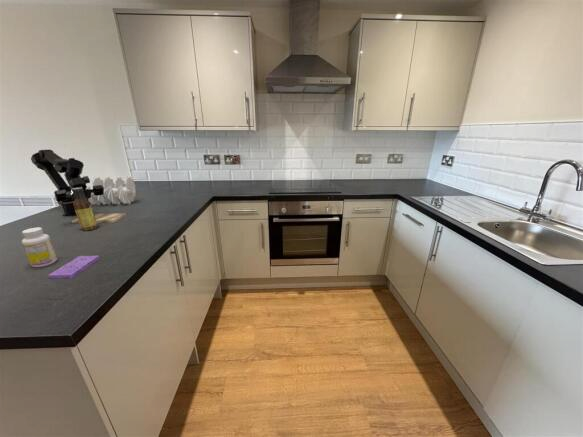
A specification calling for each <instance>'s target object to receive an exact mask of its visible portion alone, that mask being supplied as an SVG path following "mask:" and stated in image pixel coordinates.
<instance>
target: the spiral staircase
mask: <svg viewBox="0 0 583 437" xmlns="http://www.w3.org/2000/svg"><path fill="white" fill-rule="evenodd" d="M96 185H102V186H103V188H104V194H103V195H98V196H96V195H94V194H93V193H91V198H89V199H88V201H89V202H90V203H91V205H97V206H99V205H101V204H103V205H107V204H108V205H111V203H112V204H114V205H117V206H120V205H121V203H122V204H128V205H130V204H131V203H133V202H134V199H135V197H137V196H136V194H137V190H136V186H137V185H136V183H135V180H134V179H132V177H131V176H130V177H126V179H125V180H123V179H122V177H118V176H117V177H116V179H115V180H113V178H110V176H107V177H105V178H104V179H101V177H94V179H93V181H92V187H93V186H96ZM92 187H91V186H90V185H87V188H86V189H92Z"/></svg>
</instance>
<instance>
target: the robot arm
mask: <svg viewBox="0 0 583 437" xmlns="http://www.w3.org/2000/svg"><path fill="white" fill-rule="evenodd" d="M30 160H31V163H32V164H33V165H35V167H36V168H37V169H39V170H42V171H44V172H45V174H46V175H47V176H48V178H49V179H50V181H51V182H52V183H53V185H54V186H55V188H56V189H57V190H55V191H54V192H53V193H54V194H53V195H54V198H55V200H56V203H57V204H58V206H61V207H62V209H63V212H64V214H62V216H63V217H69V216H70V217H75V216H76V217H77V214H76V211H75V208H74V205H73V203H74V200H75V198H74V194H73V192H72V190H71V189H73V188H80V187H82V188H83V192H84V195H85V197H86V198H87V199H89V198H91V193H93V194H94V195H96V196H98V195H103V194H104V188H103V186H102V185H96V186H93V185H92V188H91V189H86V188H87V187H88V185H87V184H90V182H91V180H90V178H89V176H88V175H86V176H84V175H83V176H81V175H82V174H83V170H84V163H83V162H82V161H80V160H79V159H75V157H71V158H70V157H69V158H68V159H67V158H62V157H61V156H60V155H58V154H57V153H55V151H53V150H52V149H39V150H38V152H35V153H33V154H32V156H31V158H30ZM62 174H64V175H63V176H64V178H65V179H64V178H63V177H62V176H61V175H62Z"/></svg>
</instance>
